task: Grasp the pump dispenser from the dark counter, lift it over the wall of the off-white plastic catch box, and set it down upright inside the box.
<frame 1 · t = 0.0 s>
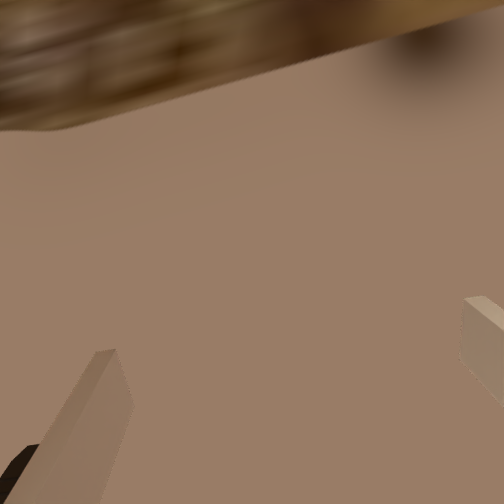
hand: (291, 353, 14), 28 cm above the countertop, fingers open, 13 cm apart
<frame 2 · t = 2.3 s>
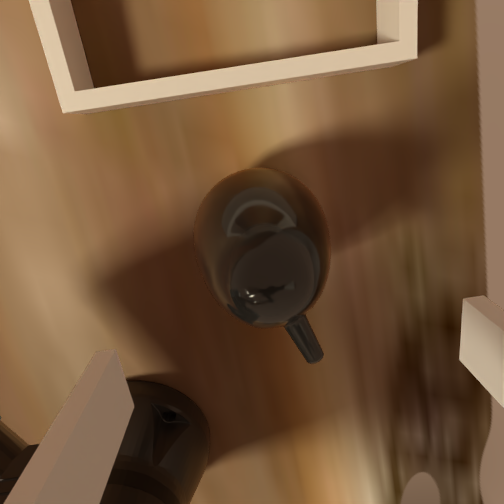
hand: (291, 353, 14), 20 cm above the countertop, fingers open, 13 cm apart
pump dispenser: (257, 221, 33), on the countertop
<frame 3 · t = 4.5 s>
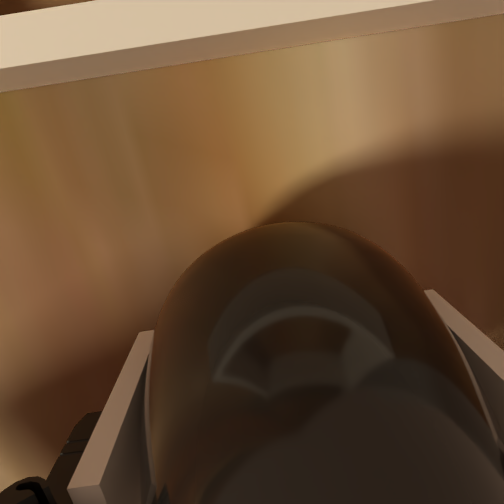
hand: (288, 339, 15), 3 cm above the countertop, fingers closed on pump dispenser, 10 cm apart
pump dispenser: (281, 304, 18), on the countertop, touching gripper
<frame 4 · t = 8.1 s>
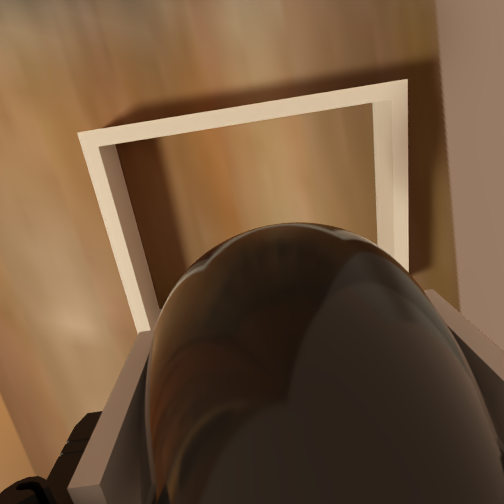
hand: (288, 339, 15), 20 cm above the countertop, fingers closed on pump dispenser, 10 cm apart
catch box: (256, 214, 34), on the countertop
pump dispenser: (281, 305, 18), point 17 cm above the countertop, touching gripper
when the fingers open (5 cm above the countertop, at t = 12.0 s): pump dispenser drops 2 cm, resting in catch box.
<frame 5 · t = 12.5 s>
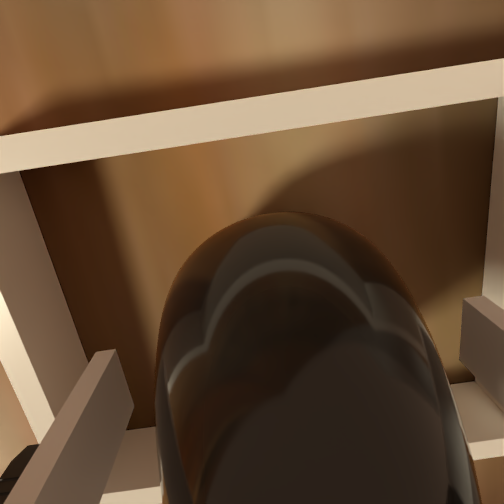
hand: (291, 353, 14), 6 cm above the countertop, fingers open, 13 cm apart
catch box: (276, 288, 19), on the countertop
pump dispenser: (277, 287, 19), resting in catch box
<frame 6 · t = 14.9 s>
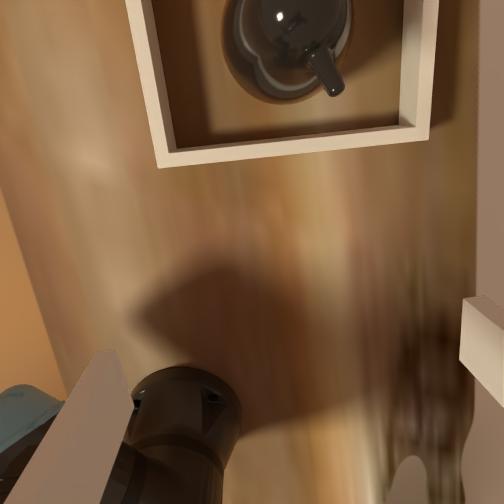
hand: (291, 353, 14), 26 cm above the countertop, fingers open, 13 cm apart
catch box: (280, 45, 33), on the countertop
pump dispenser: (280, 46, 33), resting in catch box
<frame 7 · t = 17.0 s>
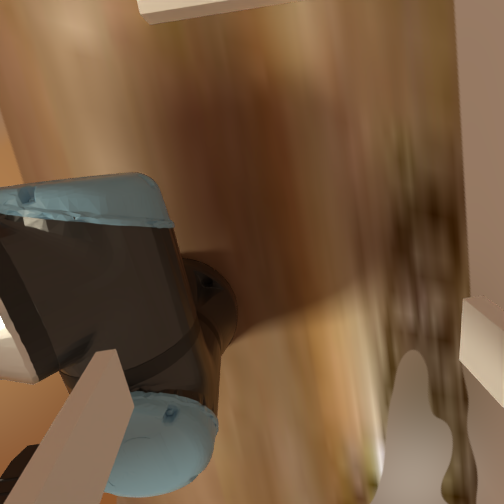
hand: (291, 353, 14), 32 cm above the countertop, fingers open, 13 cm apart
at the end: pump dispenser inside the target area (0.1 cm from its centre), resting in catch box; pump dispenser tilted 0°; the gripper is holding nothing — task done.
